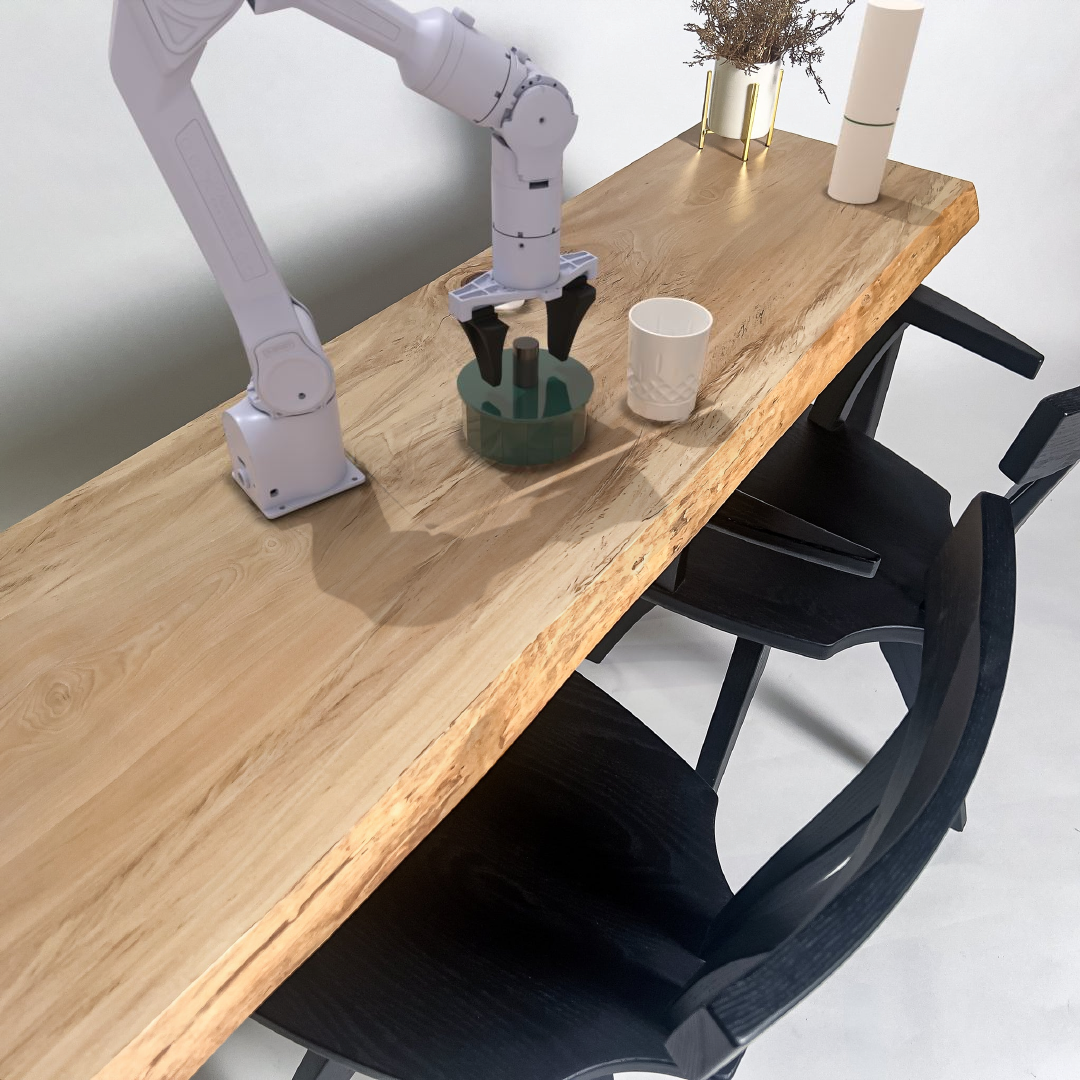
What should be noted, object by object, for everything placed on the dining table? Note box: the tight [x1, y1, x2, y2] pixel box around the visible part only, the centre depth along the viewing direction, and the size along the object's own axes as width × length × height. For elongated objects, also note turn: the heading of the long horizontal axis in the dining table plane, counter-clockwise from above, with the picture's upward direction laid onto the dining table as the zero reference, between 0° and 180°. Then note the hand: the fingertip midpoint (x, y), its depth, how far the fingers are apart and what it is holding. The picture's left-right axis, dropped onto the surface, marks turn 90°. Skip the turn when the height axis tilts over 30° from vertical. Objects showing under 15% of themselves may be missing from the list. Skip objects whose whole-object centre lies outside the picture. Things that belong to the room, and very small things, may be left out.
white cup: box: [626, 296, 714, 425], centre depth 94 cm, size 8×8×10 cm
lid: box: [456, 335, 595, 424], centre depth 88 cm, size 13×13×5 cm
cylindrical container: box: [827, 0, 926, 205], centre depth 134 cm, size 7×7×25 cm
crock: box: [461, 400, 588, 467], centre depth 91 cm, size 12×12×5 cm
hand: (525, 368), depth 88 cm, fingers open, 7 cm apart
